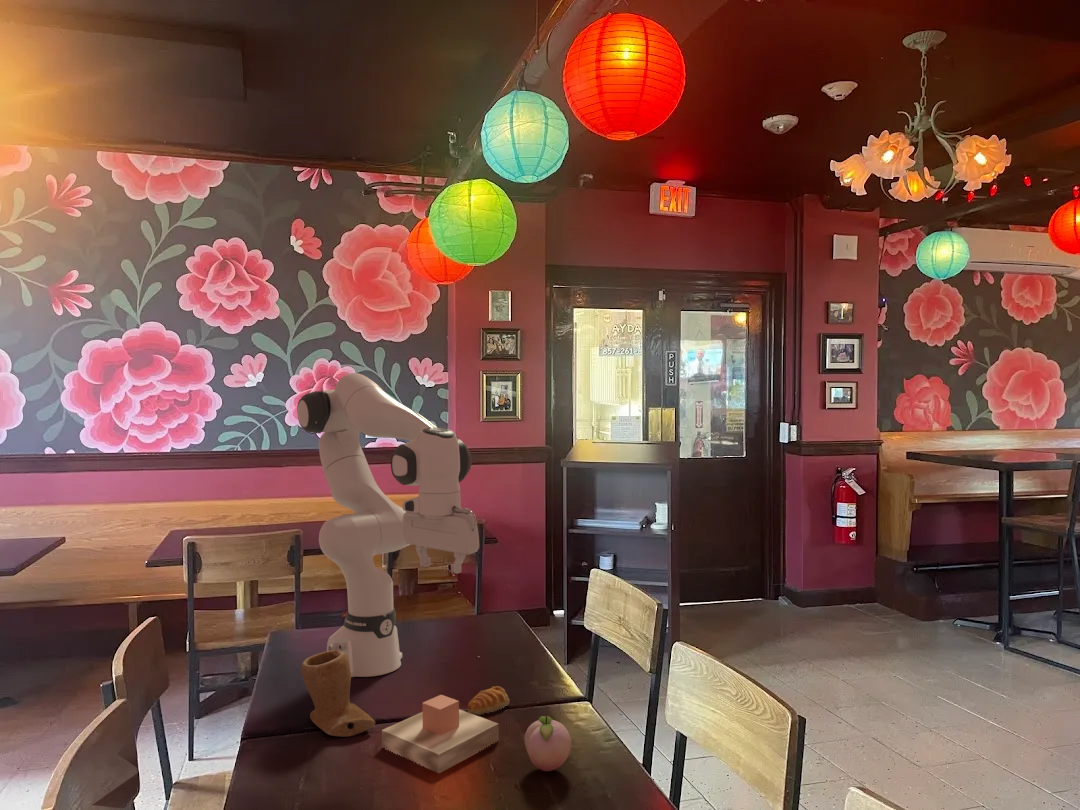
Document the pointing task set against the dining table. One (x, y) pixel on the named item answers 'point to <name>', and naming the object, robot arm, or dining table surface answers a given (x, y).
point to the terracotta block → (440, 714)
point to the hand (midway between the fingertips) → (440, 569)
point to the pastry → (488, 701)
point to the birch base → (440, 740)
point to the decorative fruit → (547, 743)
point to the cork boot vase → (333, 695)
